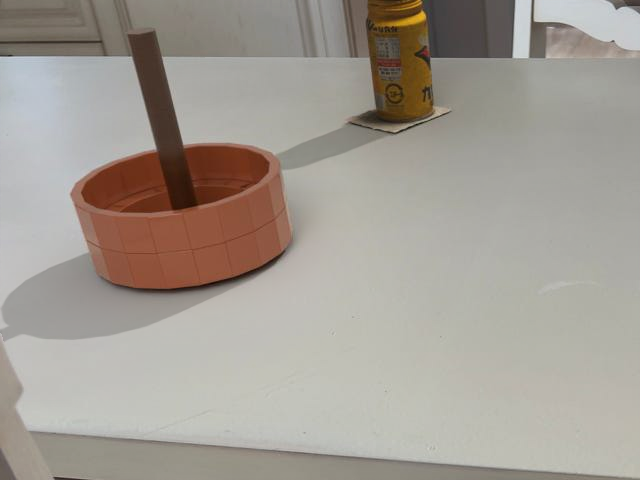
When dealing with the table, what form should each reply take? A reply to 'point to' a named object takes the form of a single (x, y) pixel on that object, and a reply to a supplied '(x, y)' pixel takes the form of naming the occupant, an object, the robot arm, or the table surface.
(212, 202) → the bowl
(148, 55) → the stick
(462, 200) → the table surface
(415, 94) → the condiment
